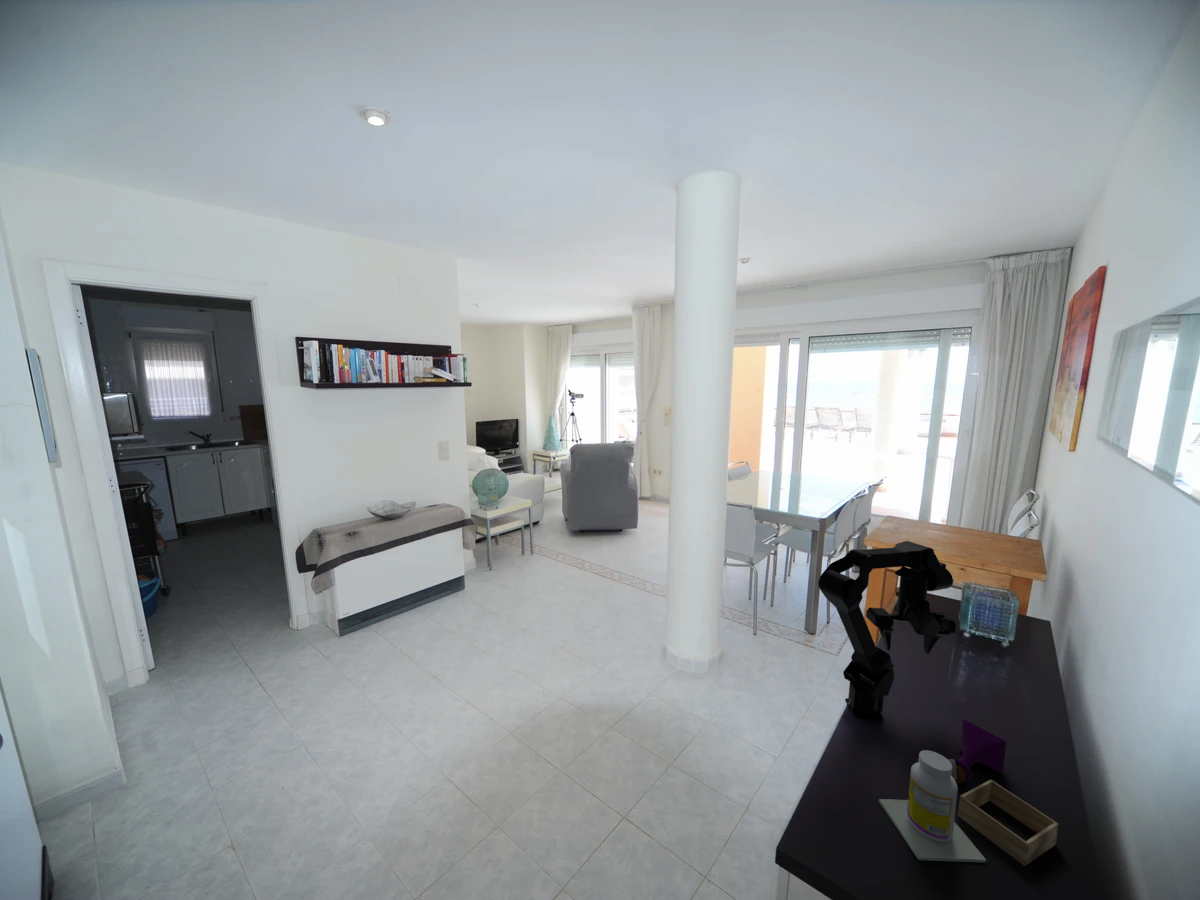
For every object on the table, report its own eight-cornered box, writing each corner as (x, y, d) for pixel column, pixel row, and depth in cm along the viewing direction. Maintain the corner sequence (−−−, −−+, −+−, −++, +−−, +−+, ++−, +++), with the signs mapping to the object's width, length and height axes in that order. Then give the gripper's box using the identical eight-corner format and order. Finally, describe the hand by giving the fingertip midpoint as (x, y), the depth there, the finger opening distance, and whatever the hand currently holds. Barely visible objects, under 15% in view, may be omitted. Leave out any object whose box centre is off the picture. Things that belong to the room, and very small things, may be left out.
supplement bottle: (919, 804, 84) (926, 741, 83) (960, 835, 78) (968, 767, 77) (898, 818, 81) (904, 752, 80) (938, 851, 75) (946, 781, 74)
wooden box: (1024, 866, 73) (1027, 844, 73) (957, 815, 82) (959, 795, 82) (1055, 844, 77) (1058, 823, 77) (988, 798, 86) (990, 779, 86)
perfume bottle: (1009, 768, 94) (968, 805, 85) (966, 744, 100) (924, 776, 91) (1013, 735, 93) (972, 769, 84) (969, 713, 99) (927, 743, 91)
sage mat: (918, 860, 74) (919, 857, 74) (878, 801, 85) (879, 799, 85) (985, 862, 74) (986, 859, 74) (937, 803, 85) (937, 801, 85)
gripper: (889, 604, 105) (883, 666, 107) (975, 610, 103) (968, 673, 105) (867, 585, 116) (862, 642, 118) (945, 590, 114) (939, 648, 116)
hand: (907, 651), depth 114 cm, fingers open, 9 cm apart
